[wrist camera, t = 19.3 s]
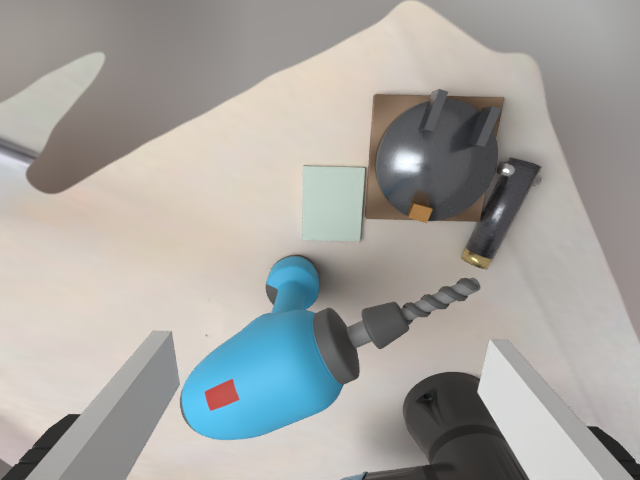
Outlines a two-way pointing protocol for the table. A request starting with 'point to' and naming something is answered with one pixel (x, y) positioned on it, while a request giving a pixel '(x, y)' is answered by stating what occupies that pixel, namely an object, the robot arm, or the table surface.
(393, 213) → the plinth
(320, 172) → the mat
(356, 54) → the table surface
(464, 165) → the chuck collar
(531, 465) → the robot arm
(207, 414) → the power drill
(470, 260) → the black cylinder
